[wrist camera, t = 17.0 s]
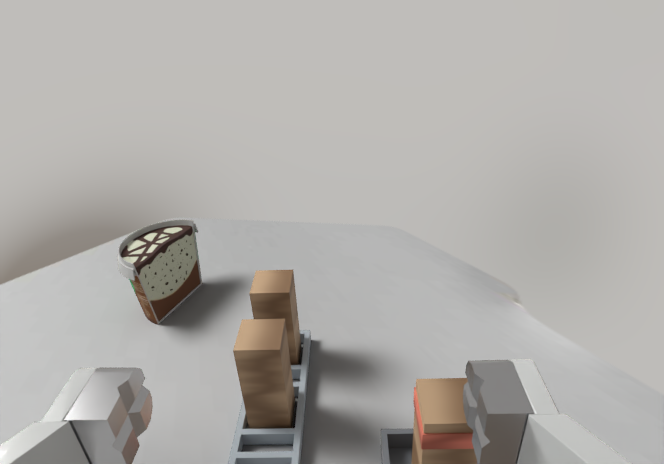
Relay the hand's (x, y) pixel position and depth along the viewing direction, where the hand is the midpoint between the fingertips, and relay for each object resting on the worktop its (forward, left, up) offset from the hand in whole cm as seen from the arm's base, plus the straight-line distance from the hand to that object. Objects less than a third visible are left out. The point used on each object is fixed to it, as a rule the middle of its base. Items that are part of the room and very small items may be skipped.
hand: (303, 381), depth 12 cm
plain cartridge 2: (-7, +23, -30) cm, 39 cm away
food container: (-25, +43, -30) cm, 58 cm away
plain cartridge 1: (-7, +31, -30) cm, 44 cm away
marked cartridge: (+8, +15, -29) cm, 34 cm away
